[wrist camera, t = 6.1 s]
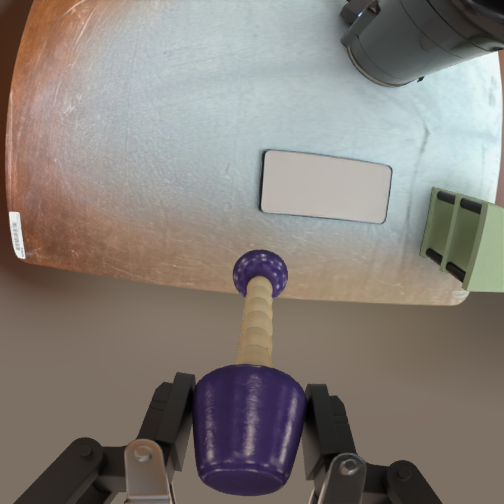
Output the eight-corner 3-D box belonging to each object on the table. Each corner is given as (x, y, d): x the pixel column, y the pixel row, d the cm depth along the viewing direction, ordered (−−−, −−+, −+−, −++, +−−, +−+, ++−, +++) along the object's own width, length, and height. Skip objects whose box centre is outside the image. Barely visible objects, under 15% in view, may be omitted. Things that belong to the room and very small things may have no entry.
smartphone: (262, 148, 29) (393, 166, 29) (262, 148, 30) (391, 166, 30) (257, 212, 32) (385, 225, 32) (257, 211, 32) (383, 224, 32)
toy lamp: (257, 312, 24) (252, 511, 8) (213, 277, 23) (149, 475, 7) (298, 272, 23) (350, 475, 7) (254, 233, 22) (239, 433, 6)
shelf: (419, 254, 33) (466, 291, 23) (432, 186, 30) (488, 203, 20) (478, 261, 33) (523, 292, 23) (491, 203, 30) (543, 222, 20)
